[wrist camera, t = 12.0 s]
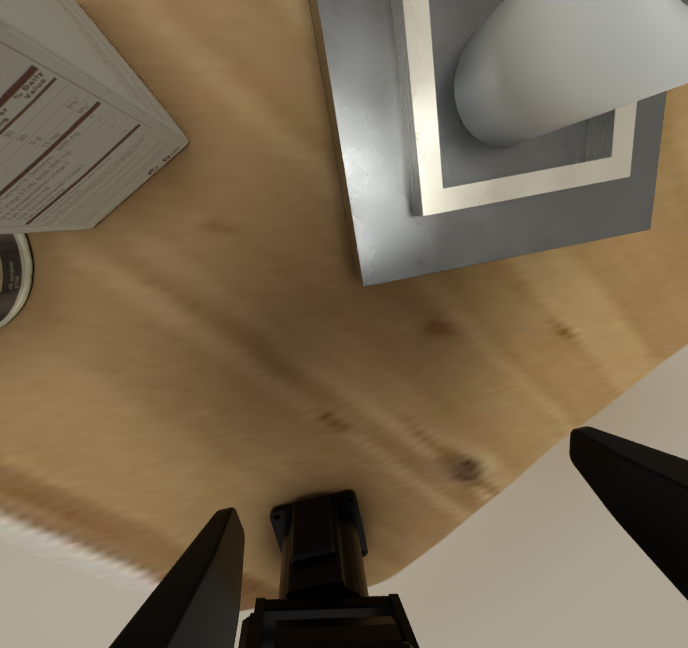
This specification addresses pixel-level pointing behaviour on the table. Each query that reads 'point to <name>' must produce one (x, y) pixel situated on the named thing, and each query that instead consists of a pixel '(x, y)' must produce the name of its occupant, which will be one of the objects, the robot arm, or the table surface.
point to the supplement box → (71, 121)
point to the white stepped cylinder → (566, 63)
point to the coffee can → (14, 274)
